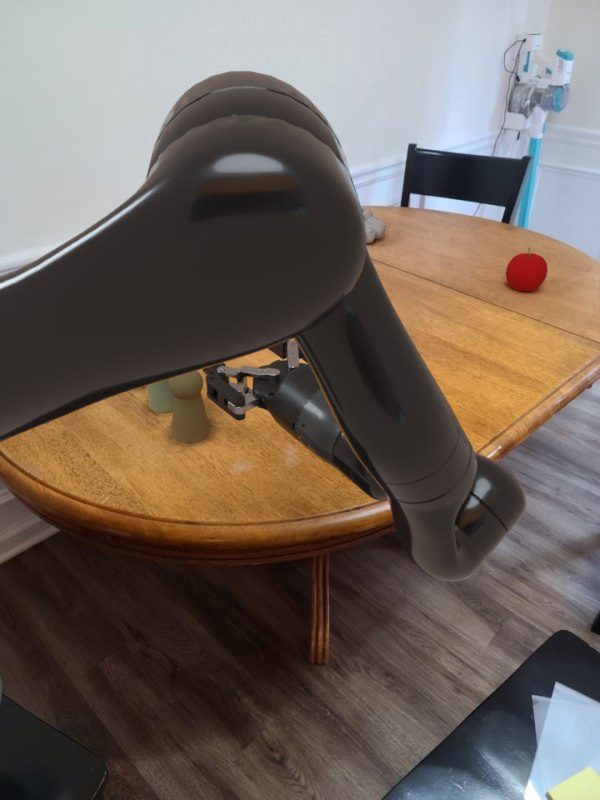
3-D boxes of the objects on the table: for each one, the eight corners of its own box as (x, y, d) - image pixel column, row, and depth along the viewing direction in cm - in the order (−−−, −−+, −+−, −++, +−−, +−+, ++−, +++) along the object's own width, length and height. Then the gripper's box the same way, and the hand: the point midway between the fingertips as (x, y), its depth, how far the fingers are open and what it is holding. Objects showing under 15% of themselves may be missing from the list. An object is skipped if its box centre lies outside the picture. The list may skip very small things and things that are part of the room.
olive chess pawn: (207, 443, 88) (201, 385, 81) (168, 442, 88) (159, 384, 81) (212, 419, 93) (208, 363, 86) (175, 418, 93) (168, 361, 86)
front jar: (158, 416, 93) (151, 370, 88) (144, 401, 96) (136, 356, 91) (184, 405, 96) (179, 360, 90) (170, 391, 99) (164, 347, 93)
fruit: (531, 280, 142) (542, 241, 136) (548, 295, 135) (560, 255, 129) (496, 280, 141) (506, 242, 135) (511, 296, 134) (522, 256, 128)
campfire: (401, 234, 166) (404, 214, 163) (358, 253, 153) (360, 232, 150) (343, 216, 178) (344, 197, 174) (298, 232, 165) (299, 212, 161)
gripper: (382, 362, 57) (285, 303, 67) (270, 412, 50) (180, 337, 60) (374, 420, 62) (284, 356, 72) (270, 473, 54) (185, 394, 64)
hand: (237, 348), depth 66 cm, fingers open, 8 cm apart
